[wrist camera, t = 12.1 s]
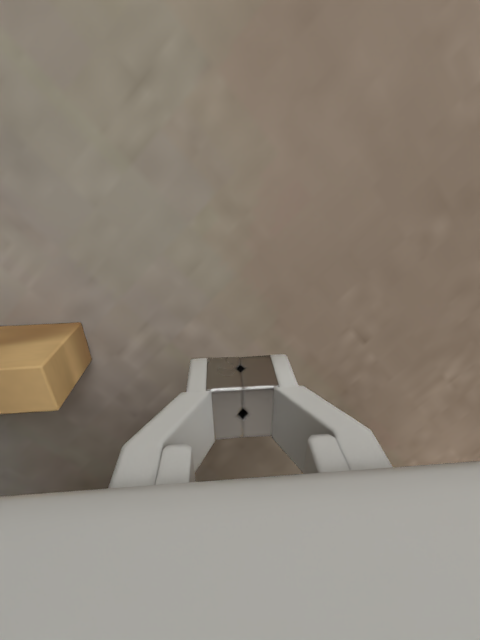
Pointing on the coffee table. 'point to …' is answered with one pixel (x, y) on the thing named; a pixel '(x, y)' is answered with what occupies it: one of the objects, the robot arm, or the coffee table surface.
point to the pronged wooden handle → (40, 365)
